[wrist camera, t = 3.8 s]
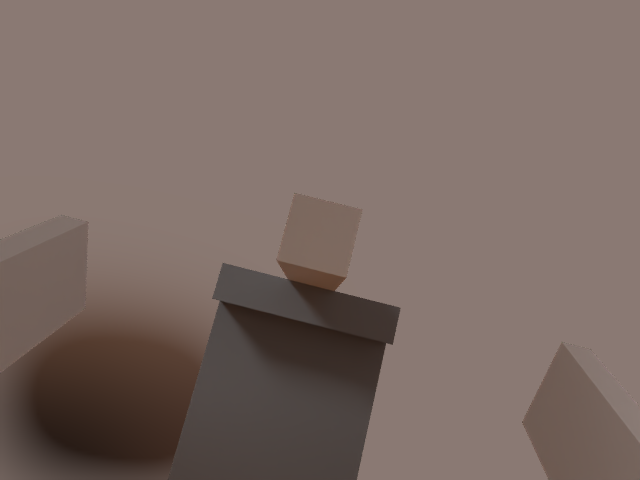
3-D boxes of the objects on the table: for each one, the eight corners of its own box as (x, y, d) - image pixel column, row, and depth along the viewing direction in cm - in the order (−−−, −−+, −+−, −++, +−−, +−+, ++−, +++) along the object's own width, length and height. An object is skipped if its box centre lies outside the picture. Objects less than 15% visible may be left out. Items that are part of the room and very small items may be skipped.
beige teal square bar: (346, 277, 15) (362, 209, 16) (276, 259, 15) (294, 193, 16) (326, 300, 36) (333, 270, 36) (296, 292, 36) (303, 263, 36)
